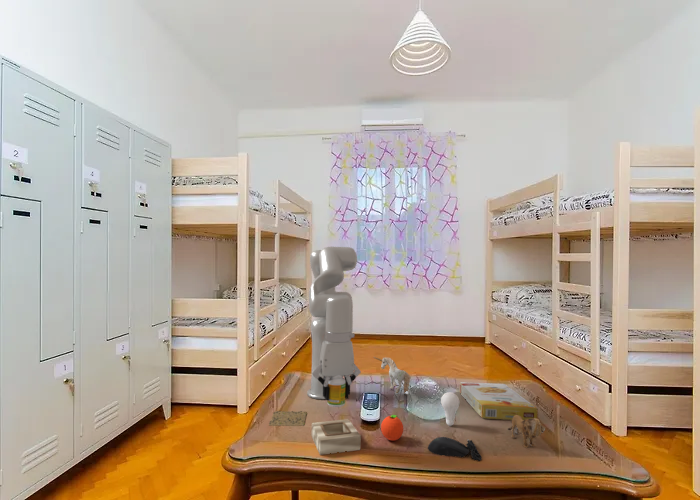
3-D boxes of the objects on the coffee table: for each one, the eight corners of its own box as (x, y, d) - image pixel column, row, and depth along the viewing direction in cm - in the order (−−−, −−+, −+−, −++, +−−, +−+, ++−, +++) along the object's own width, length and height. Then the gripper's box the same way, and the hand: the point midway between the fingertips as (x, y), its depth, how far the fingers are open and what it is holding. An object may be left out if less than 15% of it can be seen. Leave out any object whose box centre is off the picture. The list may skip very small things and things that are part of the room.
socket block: (311, 436, 114) (311, 422, 114) (348, 431, 118) (348, 418, 118) (319, 455, 103) (320, 439, 103) (360, 449, 106) (360, 434, 107)
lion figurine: (548, 451, 108) (548, 420, 108) (533, 453, 107) (533, 422, 107) (513, 430, 122) (513, 402, 123) (500, 431, 121) (500, 403, 121)
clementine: (387, 431, 119) (387, 409, 119) (407, 436, 116) (407, 413, 116) (377, 441, 112) (377, 417, 112) (398, 447, 109) (399, 422, 109)
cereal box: (482, 404, 130) (458, 380, 158) (482, 420, 130) (458, 393, 158) (539, 407, 130) (505, 382, 158) (538, 423, 130) (504, 395, 158)
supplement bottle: (342, 408, 107) (343, 374, 108) (325, 406, 108) (326, 373, 109) (346, 402, 113) (347, 369, 113) (329, 400, 114) (330, 368, 114)
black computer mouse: (425, 442, 113) (426, 429, 113) (474, 445, 111) (474, 433, 112) (429, 459, 103) (429, 445, 103) (483, 463, 101) (483, 449, 102)
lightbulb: (460, 424, 126) (460, 391, 126) (457, 431, 120) (458, 396, 121) (442, 420, 128) (442, 388, 129) (439, 427, 123) (439, 393, 123)
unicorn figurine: (382, 384, 168) (383, 354, 169) (418, 395, 154) (418, 362, 155) (372, 387, 163) (373, 356, 164) (408, 399, 149) (408, 365, 150)
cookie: (267, 427, 121) (267, 424, 121) (274, 412, 133) (274, 410, 133) (304, 427, 121) (304, 424, 121) (307, 413, 133) (307, 410, 133)
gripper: (360, 334, 118) (359, 392, 117) (307, 336, 113) (305, 396, 112) (368, 338, 111) (367, 399, 110) (312, 340, 106) (310, 404, 104)
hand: (336, 397), depth 111 cm, fingers closed on supplement bottle, 5 cm apart
